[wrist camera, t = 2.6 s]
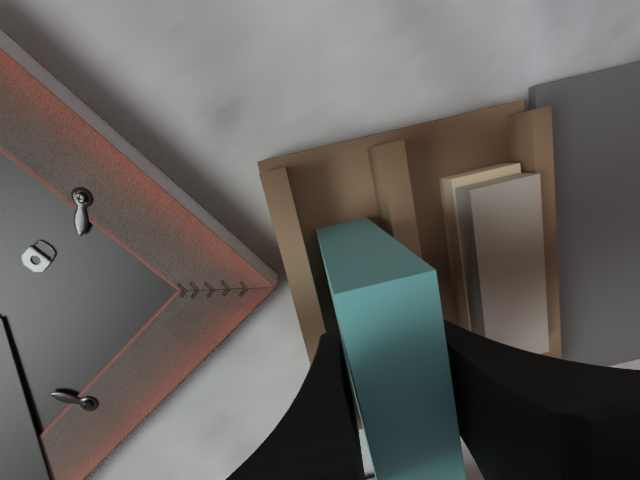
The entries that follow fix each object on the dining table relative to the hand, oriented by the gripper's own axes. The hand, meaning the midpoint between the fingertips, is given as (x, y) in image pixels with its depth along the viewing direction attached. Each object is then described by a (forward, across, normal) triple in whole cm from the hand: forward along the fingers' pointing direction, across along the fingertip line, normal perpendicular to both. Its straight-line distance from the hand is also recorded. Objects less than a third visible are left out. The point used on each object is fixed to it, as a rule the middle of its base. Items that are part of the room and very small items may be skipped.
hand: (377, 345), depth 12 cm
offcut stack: (+4, -6, 0) cm, 7 cm away
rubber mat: (+5, -15, 0) cm, 16 cm away
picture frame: (+6, +17, -3) cm, 18 cm away
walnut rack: (+5, -3, 0) cm, 6 cm away
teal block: (+4, 0, 0) cm, 4 cm away
